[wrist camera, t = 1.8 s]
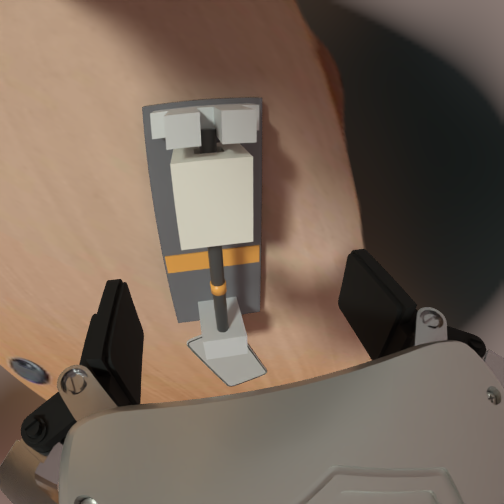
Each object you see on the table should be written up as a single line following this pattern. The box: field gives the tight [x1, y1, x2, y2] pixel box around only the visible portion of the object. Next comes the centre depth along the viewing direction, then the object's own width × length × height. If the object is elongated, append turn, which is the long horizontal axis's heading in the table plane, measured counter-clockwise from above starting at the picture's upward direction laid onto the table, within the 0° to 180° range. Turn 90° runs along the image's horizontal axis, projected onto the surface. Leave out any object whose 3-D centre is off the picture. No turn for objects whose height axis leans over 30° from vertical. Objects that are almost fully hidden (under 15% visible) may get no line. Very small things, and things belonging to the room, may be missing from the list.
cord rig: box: [142, 97, 262, 360], centre depth 24 cm, size 24×10×10 cm, turn 0°
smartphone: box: [187, 334, 267, 386], centre depth 41 cm, size 7×1×15 cm
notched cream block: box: [170, 142, 253, 250], centre depth 20 cm, size 6×5×6 cm
